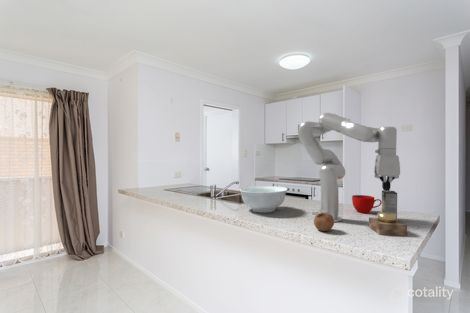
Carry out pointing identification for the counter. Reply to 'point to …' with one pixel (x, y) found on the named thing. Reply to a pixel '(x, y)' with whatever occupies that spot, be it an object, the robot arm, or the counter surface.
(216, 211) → the counter surface
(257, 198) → the bowl
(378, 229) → the block
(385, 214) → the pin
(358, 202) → the ceramic cup
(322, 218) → the onion
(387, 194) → the coffee box
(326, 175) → the robot arm
